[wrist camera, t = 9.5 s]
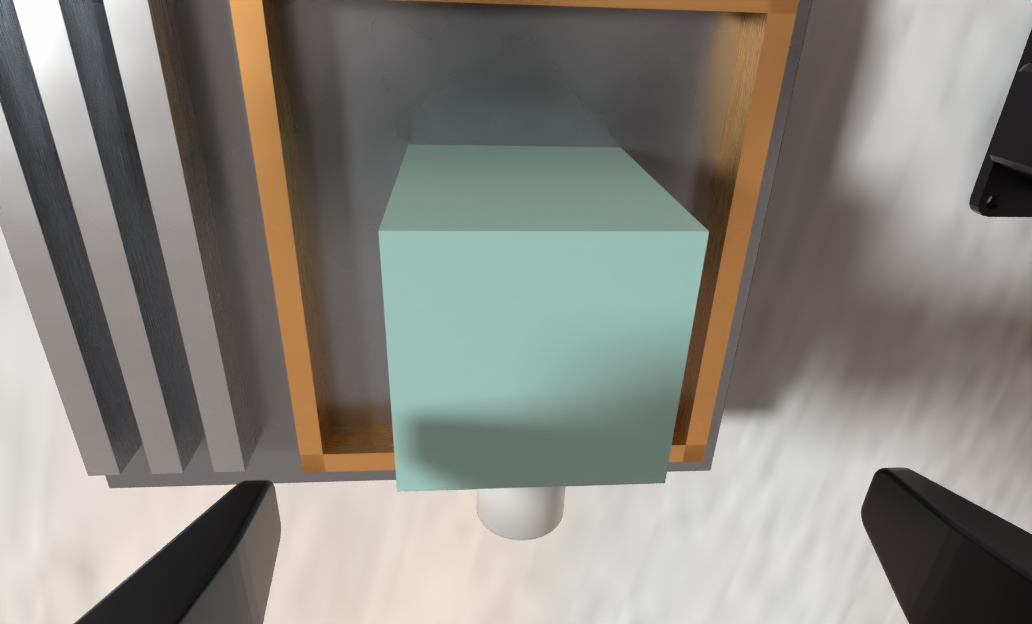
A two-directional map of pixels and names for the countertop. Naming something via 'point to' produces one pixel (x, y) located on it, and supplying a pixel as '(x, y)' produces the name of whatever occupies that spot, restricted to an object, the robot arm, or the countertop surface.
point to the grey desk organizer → (336, 197)
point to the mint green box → (534, 324)
